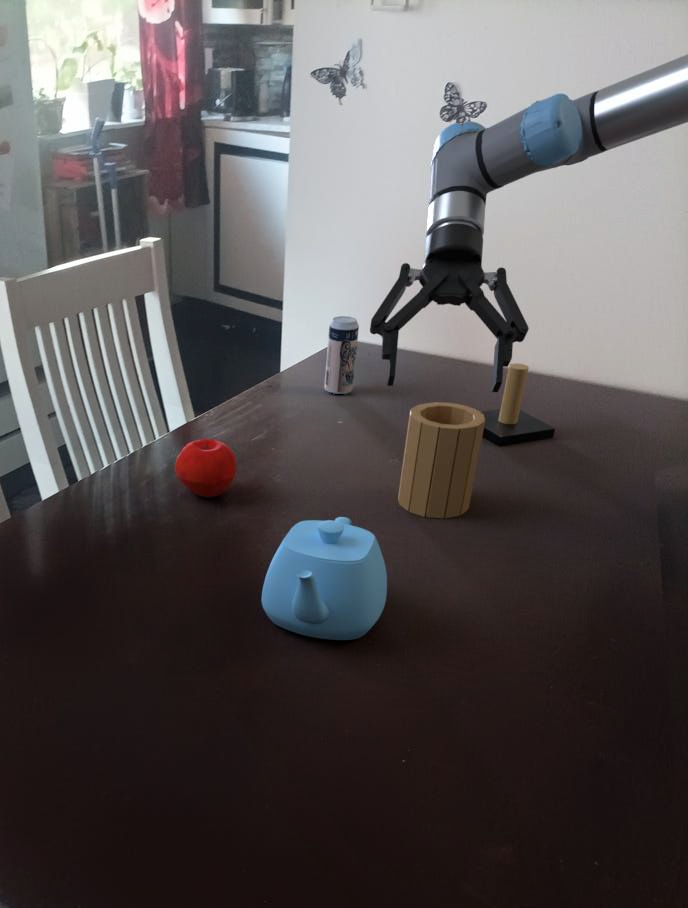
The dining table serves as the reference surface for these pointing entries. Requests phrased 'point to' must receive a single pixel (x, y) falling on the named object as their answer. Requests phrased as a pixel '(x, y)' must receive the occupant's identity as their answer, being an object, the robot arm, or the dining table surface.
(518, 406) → the peg stand
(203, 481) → the apple
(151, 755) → the dining table surface
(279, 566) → the teapot
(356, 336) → the beer can
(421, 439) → the wooden cup
